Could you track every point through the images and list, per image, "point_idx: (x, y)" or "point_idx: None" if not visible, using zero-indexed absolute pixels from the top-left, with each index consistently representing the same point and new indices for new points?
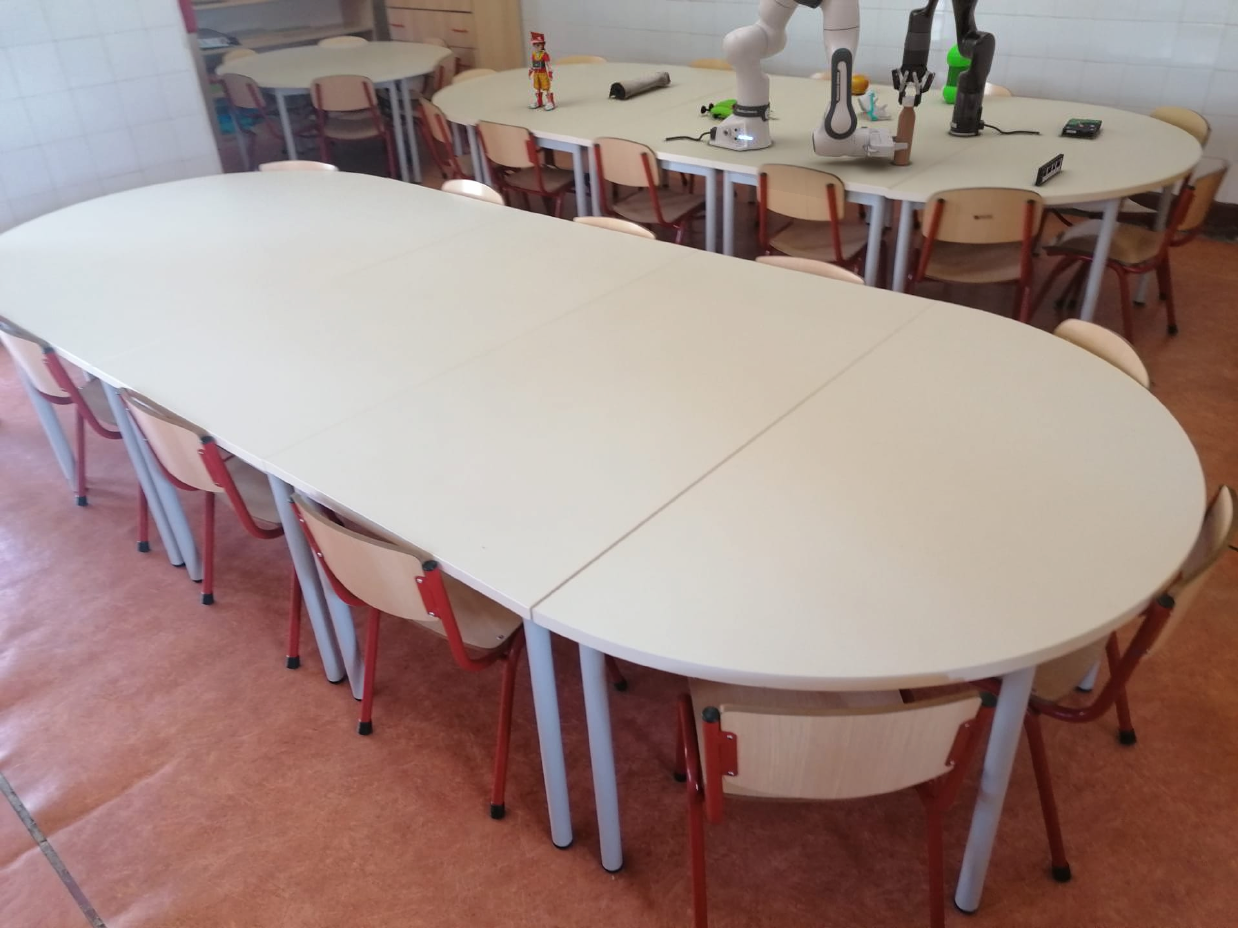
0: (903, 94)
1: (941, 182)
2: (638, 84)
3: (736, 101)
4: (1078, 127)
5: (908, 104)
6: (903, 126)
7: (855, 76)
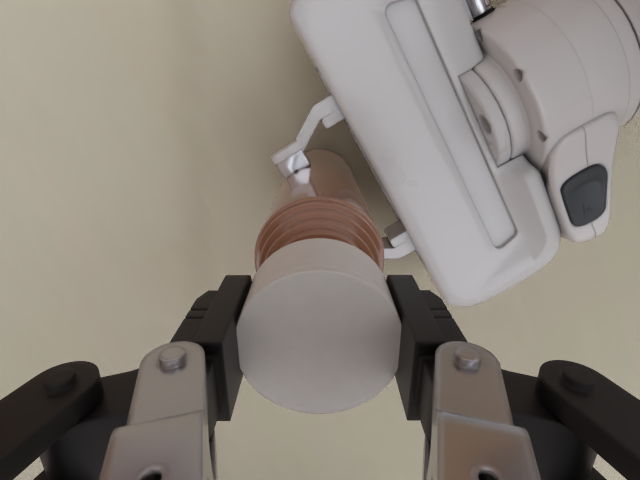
0: (409, 354)
1: (26, 4)
2: None
3: None
4: None
5: (293, 252)
6: (313, 185)
7: None
